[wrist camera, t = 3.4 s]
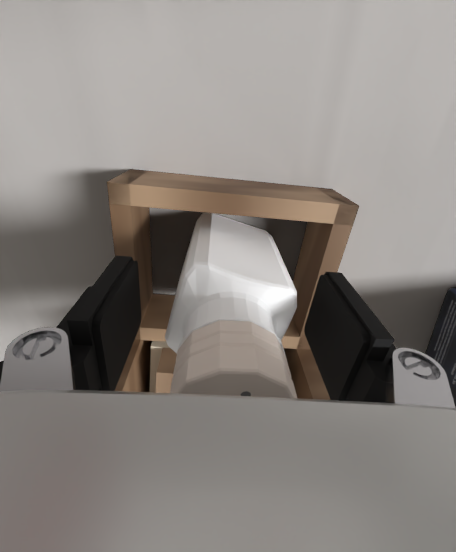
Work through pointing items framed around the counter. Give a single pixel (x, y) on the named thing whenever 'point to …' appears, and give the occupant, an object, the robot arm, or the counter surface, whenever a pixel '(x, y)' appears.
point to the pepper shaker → (231, 313)
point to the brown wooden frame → (234, 201)
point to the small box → (445, 338)
